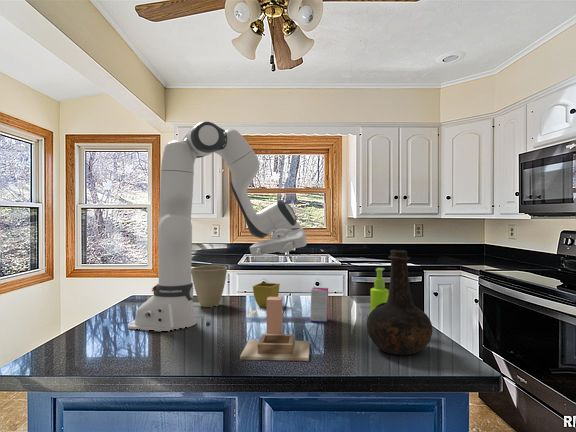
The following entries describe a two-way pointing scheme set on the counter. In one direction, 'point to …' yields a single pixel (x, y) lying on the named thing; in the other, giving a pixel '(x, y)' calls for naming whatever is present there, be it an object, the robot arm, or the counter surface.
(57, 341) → the counter surface
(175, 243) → the robot arm
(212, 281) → the plant pot
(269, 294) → the flower pot
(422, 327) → the glass bottle
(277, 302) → the block
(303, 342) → the housing
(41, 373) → the counter surface
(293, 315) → the counter surface
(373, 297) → the soap dispenser
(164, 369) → the counter surface
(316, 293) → the supplement box
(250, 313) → the butter knife
